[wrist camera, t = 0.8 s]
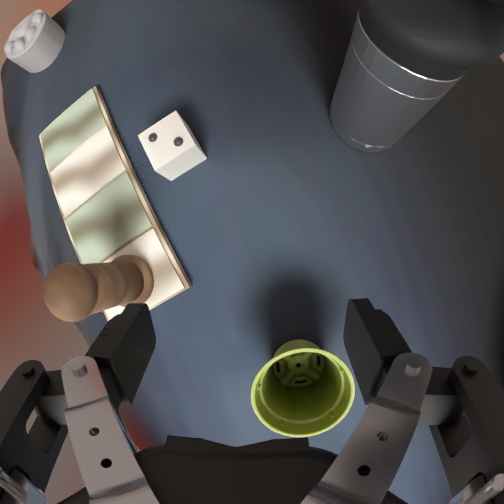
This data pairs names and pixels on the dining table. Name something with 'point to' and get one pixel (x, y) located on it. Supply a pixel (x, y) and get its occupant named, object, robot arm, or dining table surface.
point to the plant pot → (302, 390)
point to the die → (171, 146)
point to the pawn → (97, 286)
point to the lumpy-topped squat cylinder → (35, 42)
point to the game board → (106, 197)
